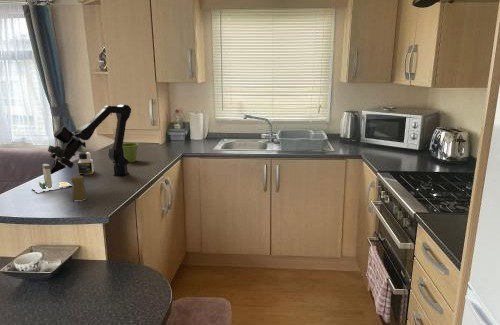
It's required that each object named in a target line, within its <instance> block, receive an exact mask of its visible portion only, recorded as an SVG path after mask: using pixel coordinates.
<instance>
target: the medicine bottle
mask: <svg viewBox="0 0 500 325" xmlns="http://www.w3.org/2000/svg"><path fill="white" fill-rule="evenodd" d="M78 158H79V161H78V162H77V166H78V168H77V169H78V176H81V175H80V174H84V175H92V174H94V171H95V166H94V160H93V159H92V156H91V152H89V151H84V152H83V151H82V152H80V153H79V154H78Z"/></svg>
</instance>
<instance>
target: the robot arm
mask: <svg viewBox="0 0 500 325" xmlns="http://www.w3.org/2000/svg"><path fill="white" fill-rule="evenodd" d="M131 112H132V108H131V106H129V105H128V104H118V105H104V106H103V108H102V109H101V110H100V111H99V112H98V113H97V114H96V115H94V117H93V118H92V119H91V120H90V121H89V122H88V123H86V124H84V125H83V126H81V127H79V128H78V129H77V130H75V131H71V130H69V129H67V126H64V125H63V126H62V127H60V128H59V129H57V130H56V131H55V132H54V134H53V137H54V138H55V139H56V140H58V141H59V142H60V143H63V144H66V145H65V146H62V147H61V146H60V145H59V146H58V145H56V146H55V145H51V144H50V145H49V146H48V148H47V152H49V153H50V154H49V157H50V158H52V161H53V162H52V165H51V166H50V172H51V175H53V174H56V173H57V172H60V171H62V170H63V169H66V168H67V167H68V168H69V169H72V168H73V167H74V162H72V161H71V159H72V158H73V157H75V156H76V155H77V154H76V153H77V152H78V151H79V149H80V148H81V147H83V148H85V149H86V147H87V145H86V144H87V143H86V142H85V141H88V140H90V139H91V138H92V137H93V134H94V133H95V131H96V129H97V128H98V127H99V126H100V125H101V124H102V123H103V122H104V120H106V119H107V118H108V117H109V116H110V115H111V114H115V115H116V120H117V121H116V128H115V134H114V142H113V145H112V147H109V149H108V154H107V156H108V158H109V160H110V161H111V162H112V163H113V176H114V177H115V176H117V177H125V176H127V175H129V174H130V172H129V170H128V164H129V162H128V160H127V159H125V158H124V151H123V144H124V139H125V132H126V127H127V126H126V125H127V122H128V120H129V118H130V116H131Z"/></svg>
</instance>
